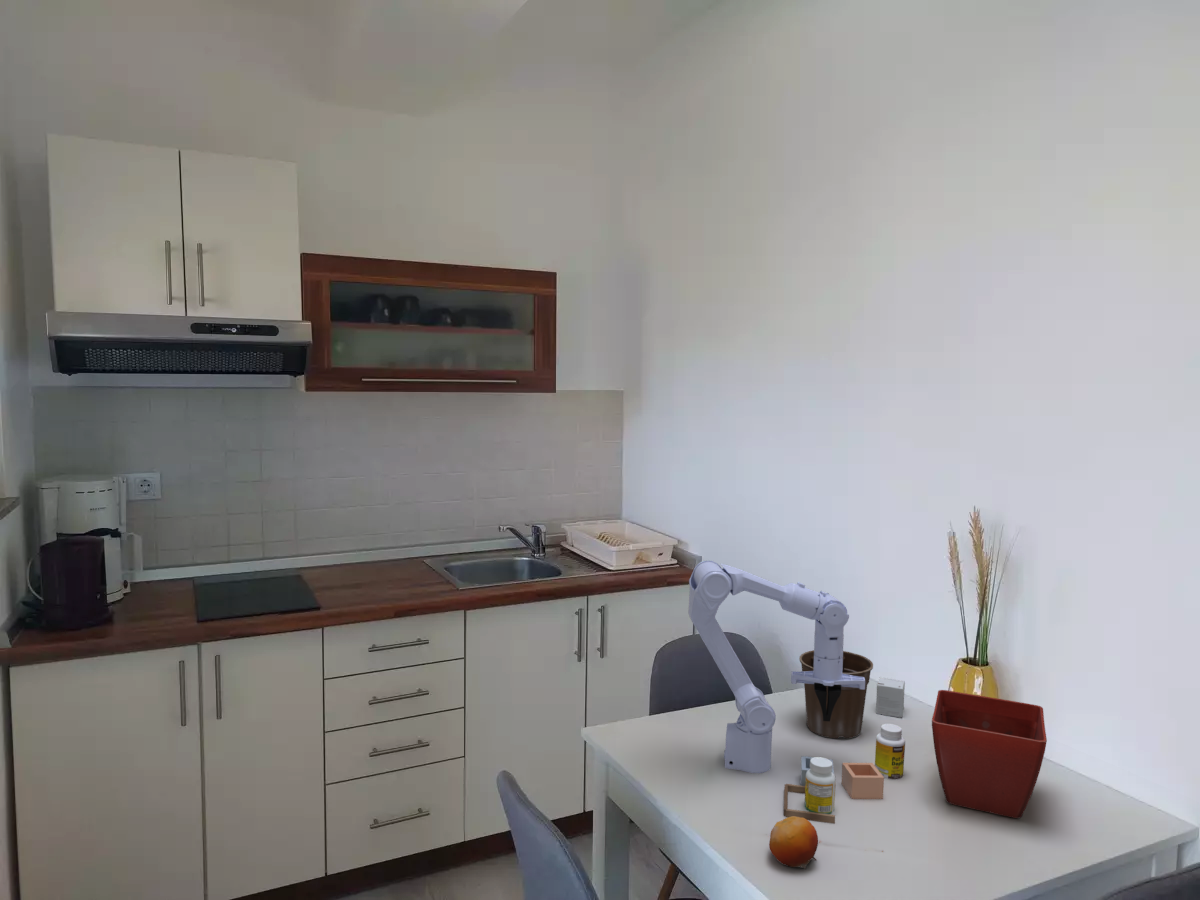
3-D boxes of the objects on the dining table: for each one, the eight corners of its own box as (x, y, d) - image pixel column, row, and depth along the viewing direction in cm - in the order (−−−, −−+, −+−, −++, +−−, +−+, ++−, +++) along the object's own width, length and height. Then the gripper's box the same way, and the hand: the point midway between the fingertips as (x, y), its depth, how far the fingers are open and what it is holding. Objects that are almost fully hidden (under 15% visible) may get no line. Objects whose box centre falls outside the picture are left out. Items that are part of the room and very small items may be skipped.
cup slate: (800, 794, 160) (801, 769, 159) (800, 779, 165) (801, 755, 165) (832, 798, 158) (834, 773, 158) (831, 783, 164) (832, 759, 164)
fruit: (820, 874, 131) (797, 825, 133) (778, 884, 135) (756, 836, 137) (835, 850, 138) (812, 804, 140) (794, 860, 142) (773, 815, 144)
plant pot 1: (785, 731, 188) (788, 662, 187) (811, 708, 202) (814, 644, 200) (856, 750, 179) (860, 678, 178) (878, 725, 192) (882, 658, 191)
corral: (783, 820, 150) (784, 810, 150) (784, 793, 160) (784, 783, 160) (834, 827, 148) (835, 816, 148) (831, 799, 158) (832, 789, 158)
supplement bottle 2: (891, 785, 164) (894, 735, 163) (868, 774, 169) (870, 725, 168) (909, 778, 167) (911, 729, 166) (886, 767, 172) (888, 719, 171)
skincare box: (903, 709, 202) (905, 680, 202) (901, 718, 197) (903, 688, 196) (877, 705, 205) (879, 676, 204) (875, 714, 199) (876, 684, 199)
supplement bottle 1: (826, 822, 150) (828, 771, 149) (799, 812, 153) (801, 762, 152) (839, 811, 154) (841, 761, 153) (812, 801, 157) (814, 752, 156)
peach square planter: (851, 802, 157) (852, 777, 156) (841, 787, 163) (842, 762, 162) (882, 802, 157) (884, 777, 157) (871, 787, 163) (872, 762, 163)
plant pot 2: (934, 765, 173) (938, 687, 171) (1037, 787, 165) (1042, 705, 163) (926, 807, 156) (931, 721, 154) (1040, 833, 147) (1047, 742, 146)
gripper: (791, 658, 166) (790, 723, 168) (867, 664, 163) (865, 730, 164) (791, 647, 173) (790, 710, 174) (864, 652, 170) (862, 716, 171)
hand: (826, 719), depth 170 cm, fingers closed
